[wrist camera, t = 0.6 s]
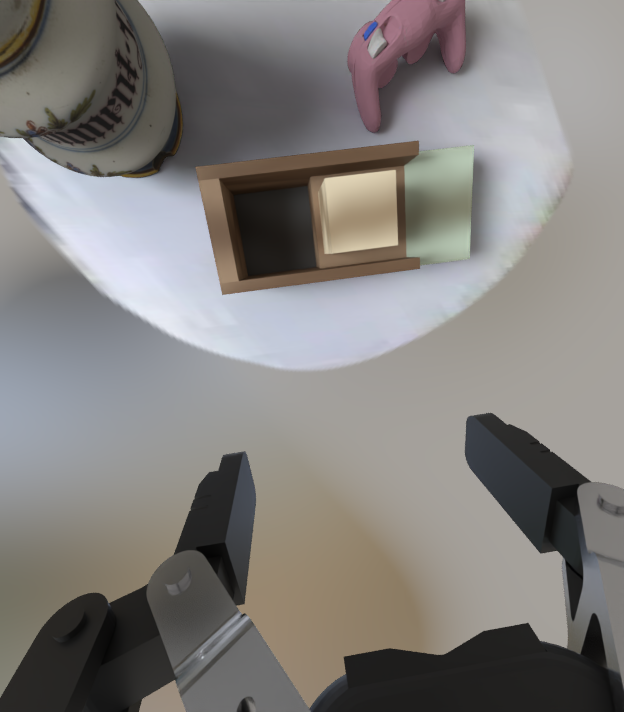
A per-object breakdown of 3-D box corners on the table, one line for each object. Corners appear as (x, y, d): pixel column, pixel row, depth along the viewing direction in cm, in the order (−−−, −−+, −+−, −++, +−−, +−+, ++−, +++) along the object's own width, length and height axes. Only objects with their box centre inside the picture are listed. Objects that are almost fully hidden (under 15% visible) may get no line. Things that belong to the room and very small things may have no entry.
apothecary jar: (142, 220, 29) (-57, 173, 12) (19, 111, 26) (-481, -157, 9) (225, 115, 27) (124, -116, 10) (102, -18, 24) (-340, -675, 7)
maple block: (318, 192, 26) (324, 178, 21) (376, 184, 26) (395, 169, 22) (324, 253, 28) (332, 253, 23) (379, 246, 28) (398, 245, 23)
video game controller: (434, 38, 28) (455, -72, 21) (465, 72, 27) (497, -30, 21) (343, 108, 29) (335, 24, 22) (370, 142, 29) (371, 68, 22)
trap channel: (216, 186, 29) (195, 166, 22) (450, 159, 30) (496, 131, 23) (235, 286, 32) (222, 294, 25) (448, 258, 33) (489, 259, 26)
